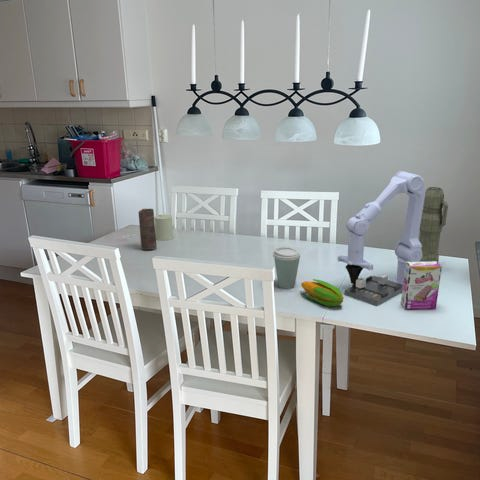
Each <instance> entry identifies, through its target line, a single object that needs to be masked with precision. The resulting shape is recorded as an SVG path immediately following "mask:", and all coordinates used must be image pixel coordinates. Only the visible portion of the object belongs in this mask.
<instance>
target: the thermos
mask: <svg viewBox="0 0 480 480" xmlns="http://www.w3.org/2000/svg"><path fill="white" fill-rule="evenodd" d="M444 193H445V192H444V190H443V188H442V187H436V186H430V187H427V188H426V189H425V199H424V205H423V211H422V217H421V223H420V229H419V235H418V240H419V241H420V243H421V245H422V248H421V251H422V258H421V260H420V261H419V262H431V261H436V262H437V263H439V260H440V255H439V247H440V246H439V245H440V237H441V232H442V231H443V227H445V226H446V223H447V221H446V220H447V216H448V211H449V209H448V208H449V205H448V203H447V201H445V194H444Z"/></svg>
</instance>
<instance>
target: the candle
mask: <svg viewBox="0 0 480 480" xmlns="http://www.w3.org/2000/svg"><path fill="white" fill-rule="evenodd" d="M154 211H155V210H154V208H142V209H141V210H139V211H138V222H139V233H140V234H139V235H140V248H141V249H144V250H156V249H157V239H156V232H155V219H154V217H155V213H154Z"/></svg>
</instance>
